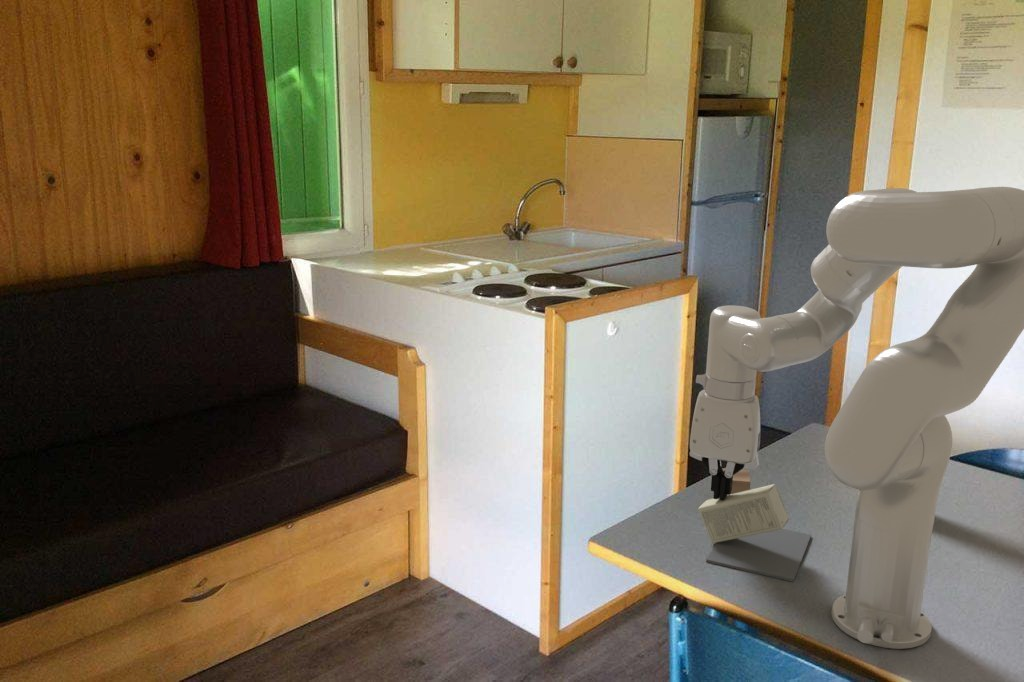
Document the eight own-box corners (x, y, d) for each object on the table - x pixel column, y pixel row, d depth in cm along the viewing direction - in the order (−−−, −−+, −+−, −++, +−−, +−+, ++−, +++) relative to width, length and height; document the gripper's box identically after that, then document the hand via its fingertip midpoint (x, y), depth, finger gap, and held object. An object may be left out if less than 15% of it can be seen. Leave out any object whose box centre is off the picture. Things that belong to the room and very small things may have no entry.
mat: (793, 581, 136) (793, 579, 136) (706, 561, 141) (706, 559, 141) (810, 536, 150) (811, 534, 150) (730, 520, 155) (731, 518, 155)
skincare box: (719, 534, 150) (790, 520, 144) (710, 544, 146) (783, 530, 140) (705, 498, 150) (776, 482, 144) (696, 507, 146) (768, 491, 140)
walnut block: (748, 508, 160) (750, 481, 159) (718, 505, 161) (720, 479, 160) (747, 496, 165) (749, 470, 164) (718, 494, 166) (720, 468, 164)
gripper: (675, 386, 142) (668, 496, 147) (774, 401, 135) (763, 516, 140) (688, 373, 148) (681, 479, 153) (784, 387, 142) (773, 497, 147)
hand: (720, 496), depth 147 cm, fingers closed
